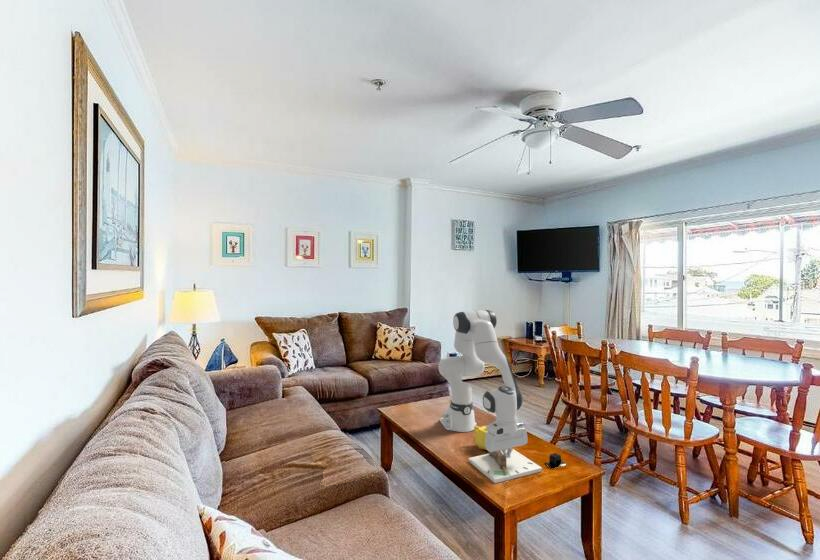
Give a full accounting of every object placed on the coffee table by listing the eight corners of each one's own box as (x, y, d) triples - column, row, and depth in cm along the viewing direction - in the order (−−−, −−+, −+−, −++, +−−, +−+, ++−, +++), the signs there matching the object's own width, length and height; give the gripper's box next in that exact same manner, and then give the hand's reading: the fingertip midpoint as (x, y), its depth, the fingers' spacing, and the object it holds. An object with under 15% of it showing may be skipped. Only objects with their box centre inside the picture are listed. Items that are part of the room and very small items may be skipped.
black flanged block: (558, 458, 177) (558, 448, 177) (571, 465, 170) (571, 455, 170) (539, 465, 171) (539, 454, 171) (552, 472, 164) (552, 461, 164)
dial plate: (468, 461, 173) (468, 457, 173) (512, 451, 183) (512, 448, 183) (494, 483, 155) (494, 479, 155) (542, 471, 164) (542, 467, 164)
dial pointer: (488, 452, 178) (488, 442, 177) (498, 452, 178) (498, 442, 178) (500, 474, 158) (500, 463, 158) (512, 473, 158) (512, 462, 158)
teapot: (512, 450, 183) (512, 428, 183) (499, 458, 176) (499, 435, 176) (480, 439, 196) (480, 418, 196) (467, 446, 188) (467, 424, 188)
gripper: (521, 419, 173) (521, 450, 173) (482, 426, 165) (483, 459, 165) (530, 424, 167) (531, 456, 167) (491, 432, 159) (491, 465, 159)
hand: (506, 457), depth 166 cm, fingers closed
